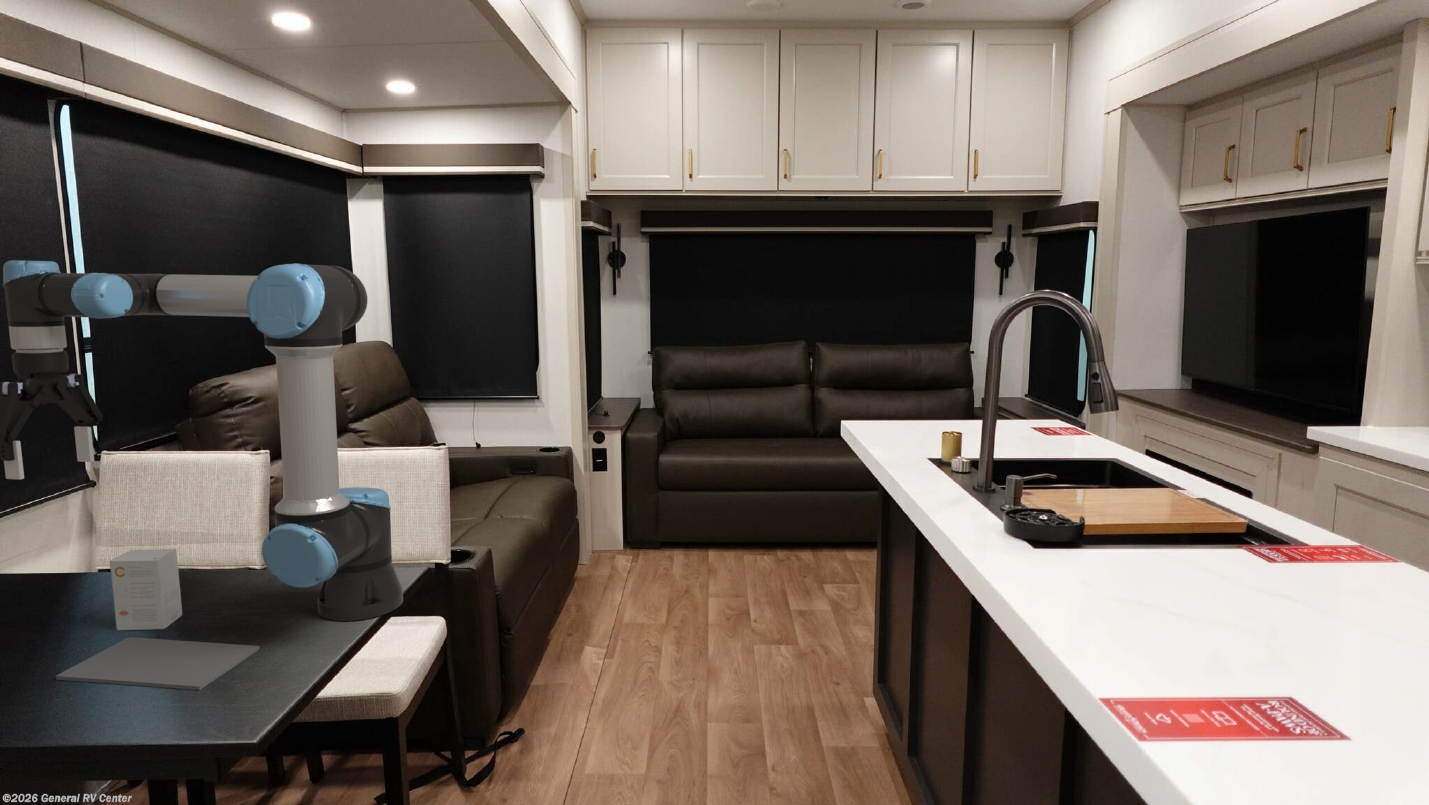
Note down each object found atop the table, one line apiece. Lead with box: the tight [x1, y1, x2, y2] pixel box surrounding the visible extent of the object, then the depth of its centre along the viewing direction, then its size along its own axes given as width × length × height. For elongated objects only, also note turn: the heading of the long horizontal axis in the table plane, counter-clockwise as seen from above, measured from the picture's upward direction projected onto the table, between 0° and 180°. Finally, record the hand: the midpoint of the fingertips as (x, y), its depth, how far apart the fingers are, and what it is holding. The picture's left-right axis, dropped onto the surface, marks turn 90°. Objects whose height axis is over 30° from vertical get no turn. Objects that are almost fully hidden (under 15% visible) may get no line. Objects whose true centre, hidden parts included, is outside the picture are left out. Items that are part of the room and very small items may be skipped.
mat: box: [55, 636, 261, 691], centre depth 132 cm, size 24×14×1 cm, turn 84°
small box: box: [109, 548, 183, 631], centre depth 146 cm, size 8×6×13 cm
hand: (52, 469), depth 144 cm, fingers open, 13 cm apart
